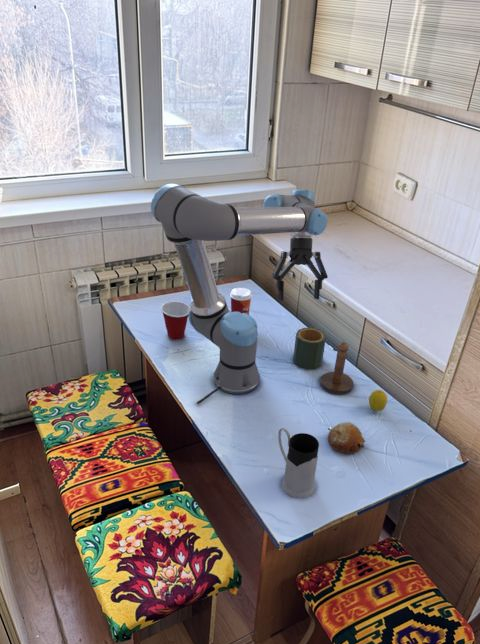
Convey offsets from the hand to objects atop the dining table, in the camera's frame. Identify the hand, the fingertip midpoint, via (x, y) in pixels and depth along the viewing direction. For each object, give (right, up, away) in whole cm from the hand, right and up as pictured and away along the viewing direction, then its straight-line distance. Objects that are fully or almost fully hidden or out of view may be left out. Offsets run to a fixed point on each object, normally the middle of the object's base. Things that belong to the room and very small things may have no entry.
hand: (298, 299), depth 195 cm
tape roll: (+3, -22, +4) cm, 22 cm away
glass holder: (-5, -52, -44) cm, 69 cm away
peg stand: (+12, -29, -7) cm, 33 cm away
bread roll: (+12, -45, -31) cm, 56 cm away
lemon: (+23, -37, -17) cm, 47 cm away
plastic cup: (-44, -13, +12) cm, 48 cm away
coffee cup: (-22, -9, +21) cm, 31 cm away
